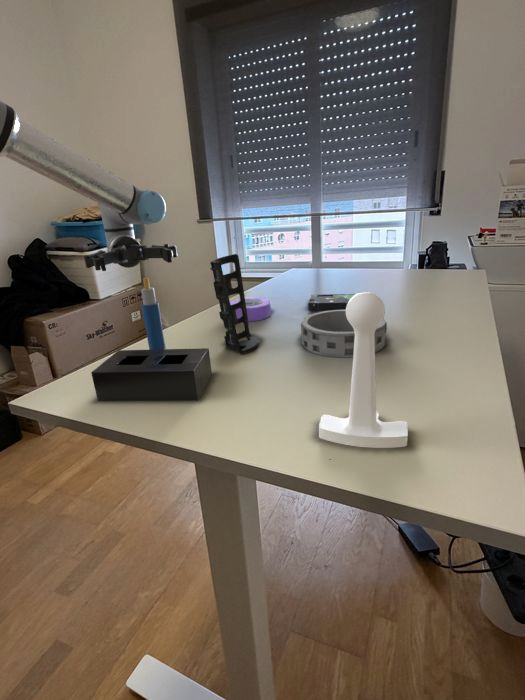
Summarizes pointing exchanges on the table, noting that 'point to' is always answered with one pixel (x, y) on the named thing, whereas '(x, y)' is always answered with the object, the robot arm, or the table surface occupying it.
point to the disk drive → (329, 302)
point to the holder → (229, 311)
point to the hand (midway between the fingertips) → (137, 260)
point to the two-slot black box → (153, 375)
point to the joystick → (364, 386)
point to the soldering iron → (152, 318)
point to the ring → (334, 334)
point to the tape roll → (255, 308)
